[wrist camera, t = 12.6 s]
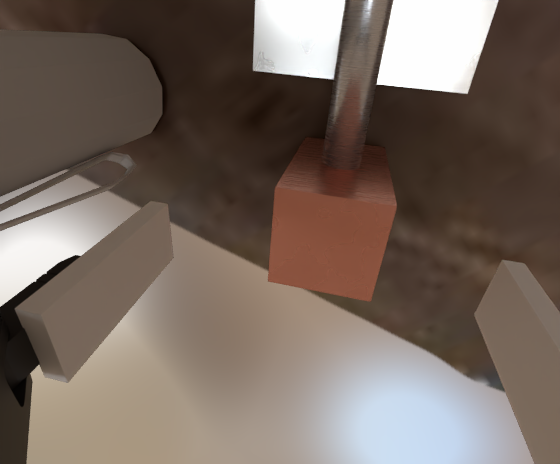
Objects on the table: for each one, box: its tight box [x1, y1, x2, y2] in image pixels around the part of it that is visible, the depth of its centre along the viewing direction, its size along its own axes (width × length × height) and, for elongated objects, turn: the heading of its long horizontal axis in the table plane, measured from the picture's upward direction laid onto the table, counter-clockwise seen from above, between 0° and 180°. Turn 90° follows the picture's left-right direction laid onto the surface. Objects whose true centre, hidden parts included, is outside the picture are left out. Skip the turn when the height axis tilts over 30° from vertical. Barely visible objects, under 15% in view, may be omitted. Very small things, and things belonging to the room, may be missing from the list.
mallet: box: [268, 0, 397, 302], centre depth 14 cm, size 24×5×9 cm, turn 175°
